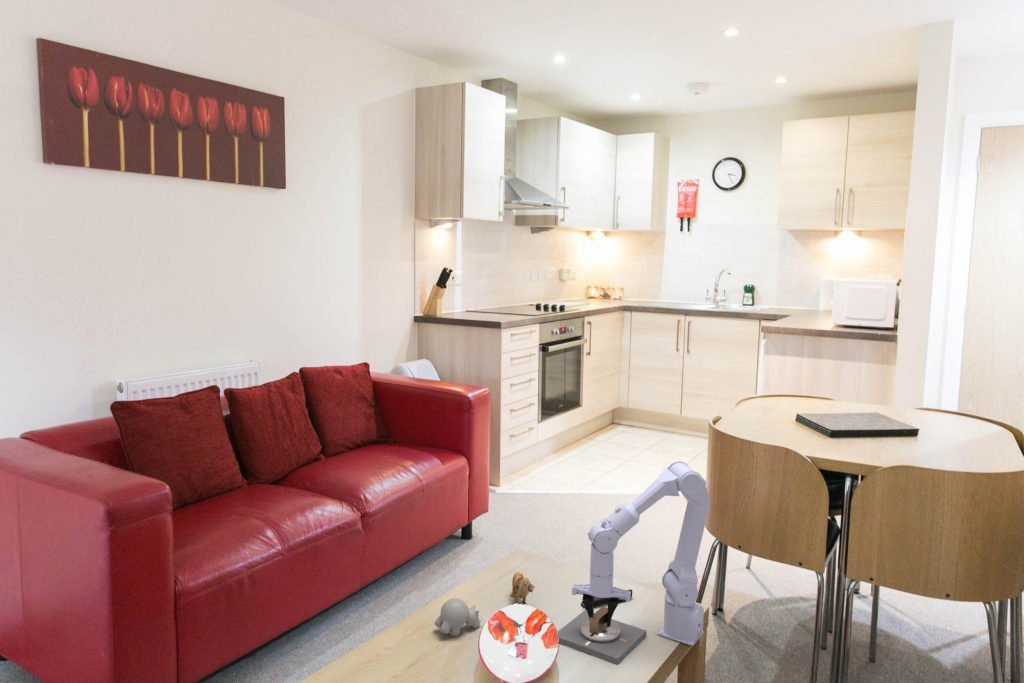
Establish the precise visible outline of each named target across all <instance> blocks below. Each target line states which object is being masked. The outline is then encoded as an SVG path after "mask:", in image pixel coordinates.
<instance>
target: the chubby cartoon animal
mask: <svg viewBox="0 0 1024 683" xmlns="http://www.w3.org/2000/svg"><path fill="white" fill-rule="evenodd" d="M475 607H476V605H475V604H474V605H472V607H470V608H468V605H467V603H466V602H465V601H464V600H462V599H460V598H456V597H453V598H449V599H448V600H446V601H445V602H444V603H443V605H442V606H441V607H440V615H439V616H437V618H436V619H435V622H434V626H436V627H437V628H439V631H440V633H442V634H445V635H448V634H450V635H452V636H453V637H458V636H460V634H461V628H462V627H463V626H464V625H467V626H470V627H471V628H473V629H477V628H478V627H479V626H480V625H481V622H482V621H483V615H481V617H480V616H479V613H480V610H476V609H475Z"/></svg>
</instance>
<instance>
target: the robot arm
mask: <svg viewBox="0 0 1024 683" xmlns="http://www.w3.org/2000/svg"><path fill="white" fill-rule="evenodd" d="M679 492H680V493H681V494H682V496H683V498H685V500H686V501H687V503H686V507H685V511H684V516H683V521H682V524H681V529H680V533H679V538H678V543H677V546H676V550H675V555H674V559H673V560H671V561H670V562H669V563H668V567H667V569H666V570H665V571H664V573H663V575H662V579H661V581H662V586H663V587H664V589H665V595H664V608H663V609H664V613H663V627H662V628H661V629H659V631H658V632H657V635H658V636H660V637H664V638H667V639H669V640H673V641H676V642H679V643H682V644H686V645H689V646H693V647H694V646H695V644H696V643H697V642H698V640H700V638H701V637H702V636H703V635H704V634H705V631H704V614H705V613H704V607H703V606H702V605H700V604H698V603H696V601H697V599H698V598H699V592H698V581H699V580H698V576H697V571H696V566H697V561H698V557H699V552H700V549H701V543H702V539H703V536H704V531H705V527H706V526H705V525H706V522H707V517H708V515H709V514H708V512H709V510H710V505H711V498H710V495H709V494H710V493H709V492H708V487H707V481H706V480H705V478H704V477H703V476H702V475H701V474H700V473H699V472H697V471H695V470H694V469H693V468H691V467H690V466H689V465H688V464H687V463H686V462H683V461H680V460H677V461H673V462H671V463H670V464H669V465H668V467H666V468H664V469H663V470H661V472H660V474H659V475H658V477H657V478H656V479H655V480H654V481H653V482H651V484H649V486H648V487H646V488H645V490H644V491H643V492H641V493H640V494H639V495H638V496H637V497H636V498H635V499H634V500H633V501H632V502H631V503H622V504H621V505H617V506H616V507H614V509H615V510H614V511H613V512H612V513H611V514H610V515H608V516H607V517H606V518H605V519H604V518H603V519H602V520H601V521H600V522H599V523H595V524H593V526H591V528H590V529H589V530H590V531H589V532H587V537H588V539H589V541H590V542H591V544H590V556H589V557H590V560H589V561H590V564H589V567H590V568H589V570H590V571H589V583H587V584H586V583H584V584H574V583H573V584H572V587H571V596H573V595H574V596H576V595H581V596H582V598H581V602H582V601H583V604H584V606H585V608H586V610H585V611H587V613H588V616H589V620H590V617H591V616H592V615H593V614H594V613H595V612H594V611H595V609H594V608H595V607H594V596H595V597H600V598H609V600H608V604H607V608H608V619H607V627H610V624H611V619H613V616H614V614H615V611H616V609H617V607H618V605H619V603H618V602H619V599H622V600H625V602H628V603H629V602H630V603H631V599H632V598H631V591H628V590H629V589H624V588H619V587H616V586H614V559H615V558H614V550H615V549H617V546H618V542H619V540H620V539H621V538H622V537H623V536H624V535H625V534H626V533H628V532H629V531H630V530H632V529H633V528H634V527H635V526H636V525H637V524H638V523H639V522H640V516H641V515H642V514H643V513H644V512H645V511H646V510H648V509H649V508H651V507H652V506H653V505H655V504H656V503H657V502H658V501H660V500H661V499H662V498H664V497H665V496H666V497H667V496H669V497H680V493H679Z"/></svg>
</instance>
